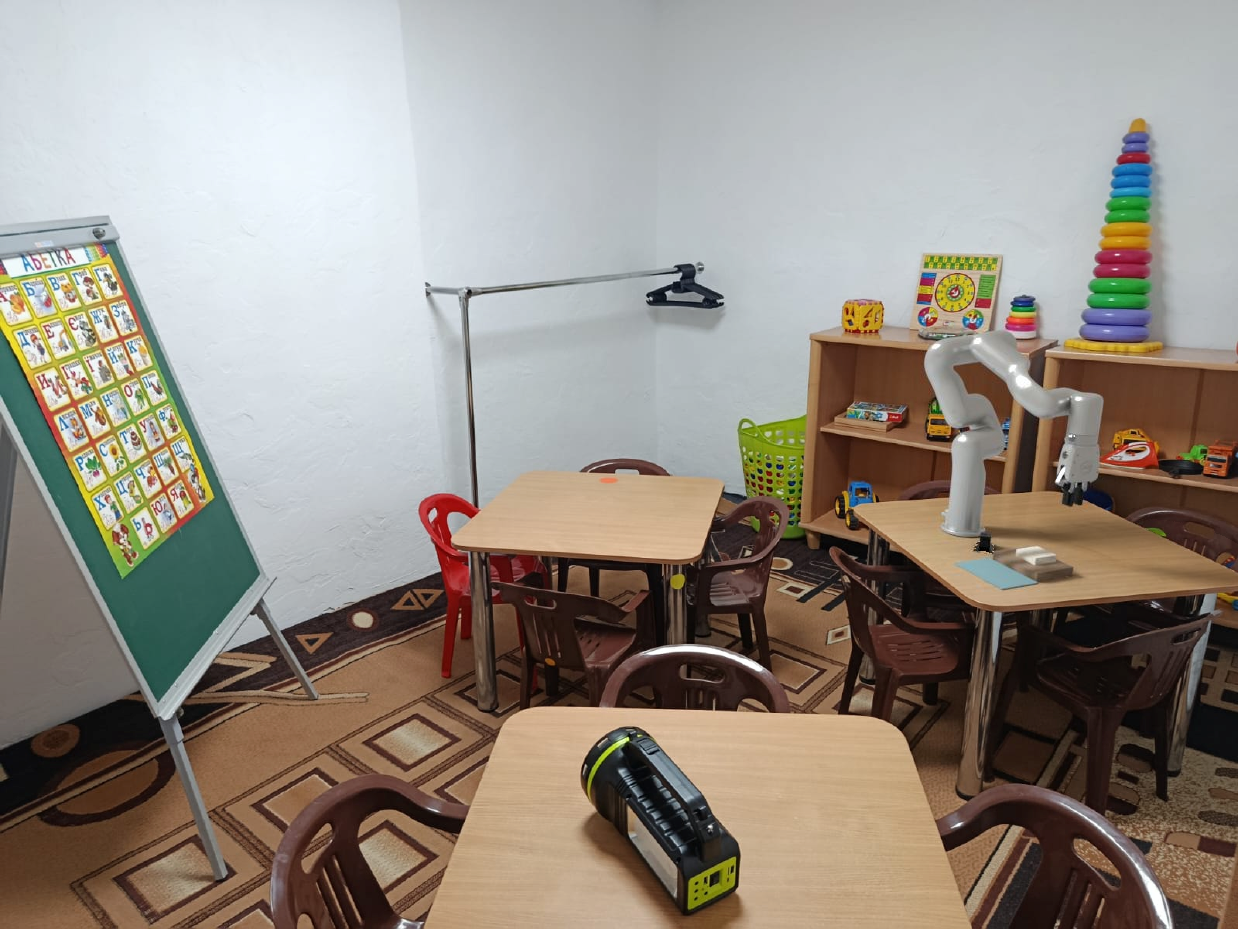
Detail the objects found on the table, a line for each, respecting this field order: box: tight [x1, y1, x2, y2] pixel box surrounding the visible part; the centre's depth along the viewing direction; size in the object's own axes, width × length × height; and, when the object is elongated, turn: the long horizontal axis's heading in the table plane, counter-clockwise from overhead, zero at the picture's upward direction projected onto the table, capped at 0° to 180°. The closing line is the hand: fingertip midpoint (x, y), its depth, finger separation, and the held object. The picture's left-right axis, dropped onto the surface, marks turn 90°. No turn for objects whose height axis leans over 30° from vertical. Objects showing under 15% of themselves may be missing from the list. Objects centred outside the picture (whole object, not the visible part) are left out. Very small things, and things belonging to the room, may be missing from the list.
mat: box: [954, 557, 1039, 591], centre depth 224 cm, size 18×12×1 cm, turn 18°
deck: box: [992, 545, 1074, 583], centre depth 227 cm, size 16×12×2 cm
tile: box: [1016, 545, 1057, 565], centre depth 227 cm, size 7×7×2 cm
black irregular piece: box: [973, 531, 996, 555], centre depth 242 cm, size 12×7×5 cm, turn 154°
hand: (1071, 504), depth 226 cm, fingers open, 2 cm apart
